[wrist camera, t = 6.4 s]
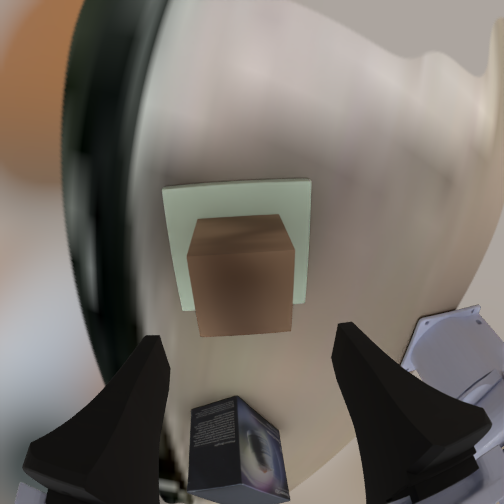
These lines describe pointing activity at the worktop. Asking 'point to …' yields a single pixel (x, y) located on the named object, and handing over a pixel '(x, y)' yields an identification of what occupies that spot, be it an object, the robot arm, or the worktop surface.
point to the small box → (235, 456)
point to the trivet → (238, 204)
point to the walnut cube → (242, 275)
